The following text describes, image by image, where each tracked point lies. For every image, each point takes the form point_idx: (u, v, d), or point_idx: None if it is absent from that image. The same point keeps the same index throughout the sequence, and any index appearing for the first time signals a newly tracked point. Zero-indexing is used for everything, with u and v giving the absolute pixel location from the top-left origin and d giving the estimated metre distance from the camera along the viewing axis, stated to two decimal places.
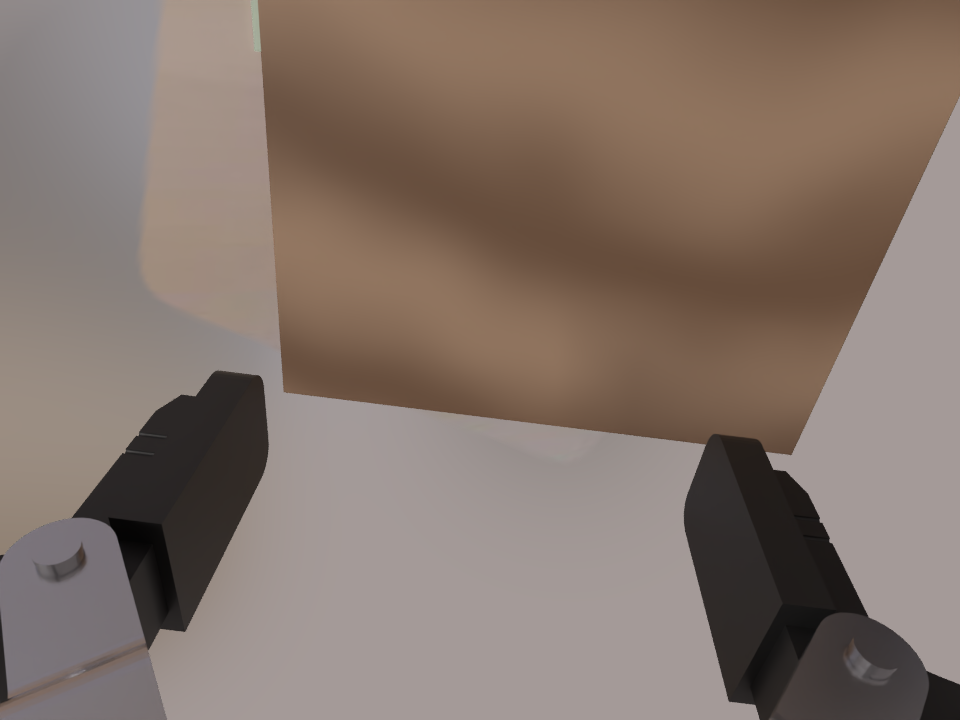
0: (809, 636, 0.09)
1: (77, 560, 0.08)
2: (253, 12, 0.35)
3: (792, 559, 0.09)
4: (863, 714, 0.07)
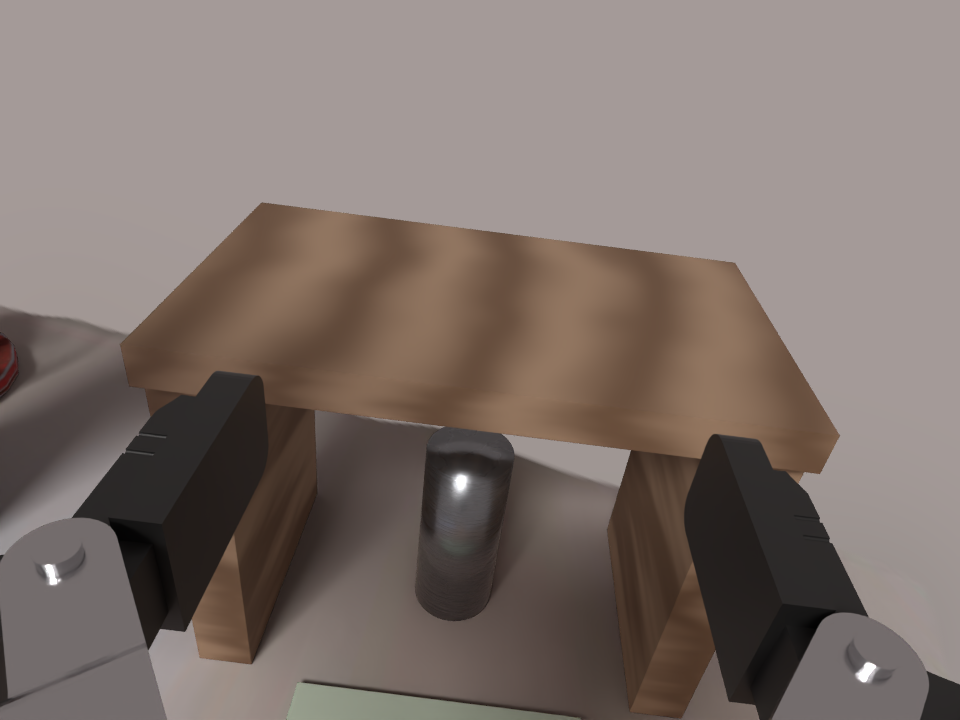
0: (809, 636, 0.09)
1: (77, 561, 0.08)
2: None
3: (792, 559, 0.09)
4: (863, 714, 0.07)
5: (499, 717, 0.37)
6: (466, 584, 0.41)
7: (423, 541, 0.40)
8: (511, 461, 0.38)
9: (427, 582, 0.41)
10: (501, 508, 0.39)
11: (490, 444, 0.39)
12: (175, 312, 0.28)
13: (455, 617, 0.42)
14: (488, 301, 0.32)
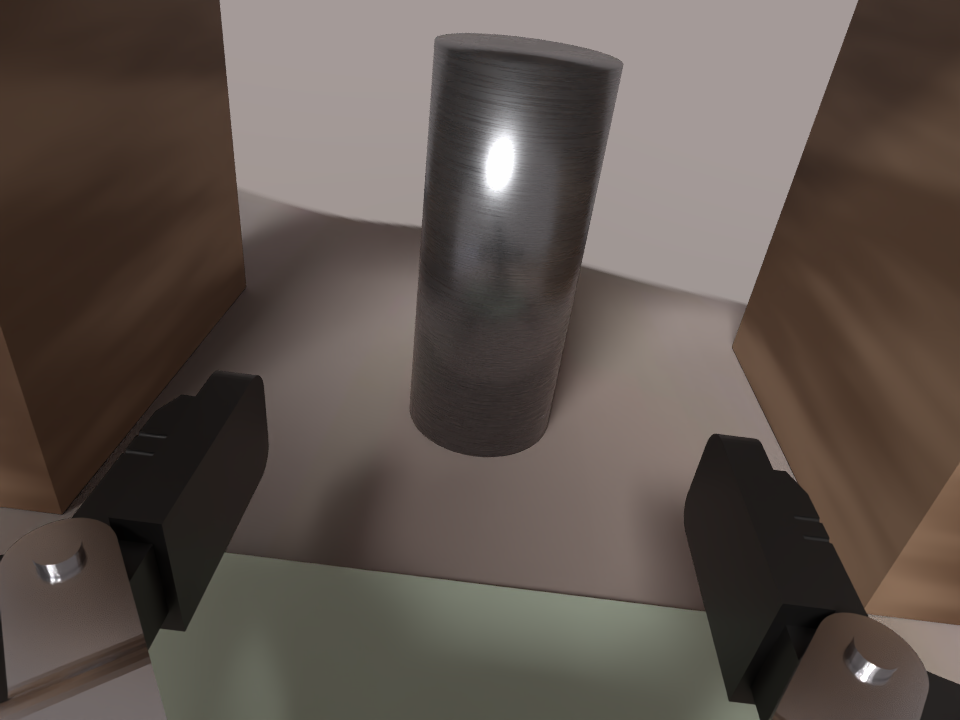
0: (809, 636, 0.09)
1: (77, 560, 0.08)
2: None
3: (792, 559, 0.09)
4: (863, 714, 0.07)
5: (595, 616, 0.17)
6: (512, 370, 0.20)
7: (425, 281, 0.20)
8: (619, 64, 0.17)
9: (433, 372, 0.21)
10: (591, 185, 0.18)
11: (568, 51, 0.18)
12: None
13: (485, 449, 0.22)
14: None
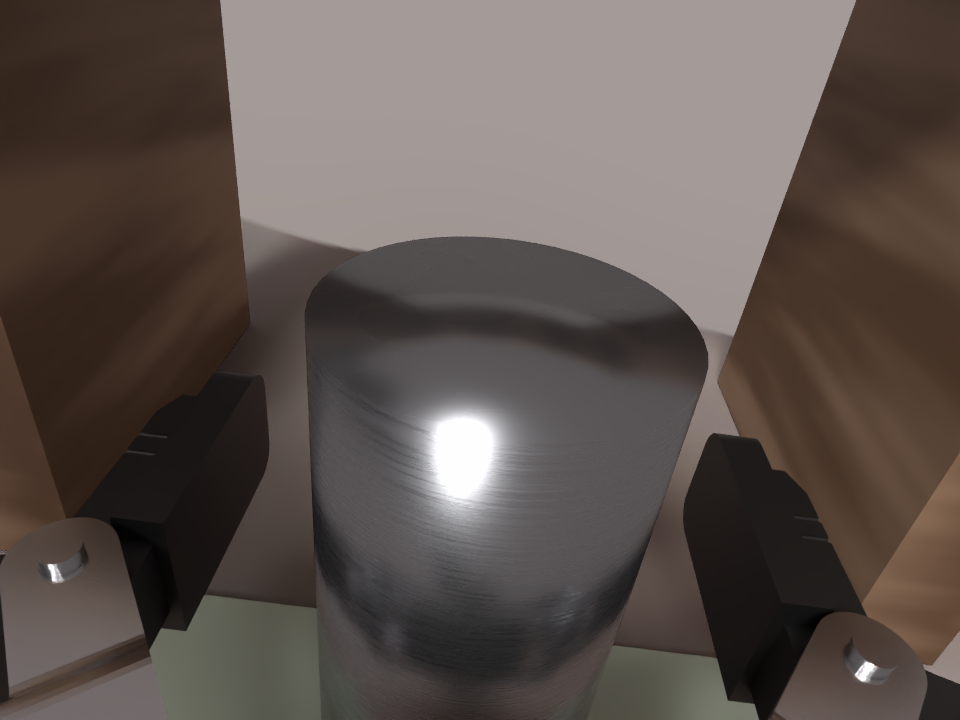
0: (808, 635, 0.09)
1: (78, 560, 0.08)
2: None
3: (791, 558, 0.09)
4: (862, 713, 0.07)
5: None
6: None
7: (324, 683, 0.11)
8: (700, 359, 0.08)
9: None
10: (636, 571, 0.09)
11: (589, 298, 0.09)
12: None
13: None
14: None
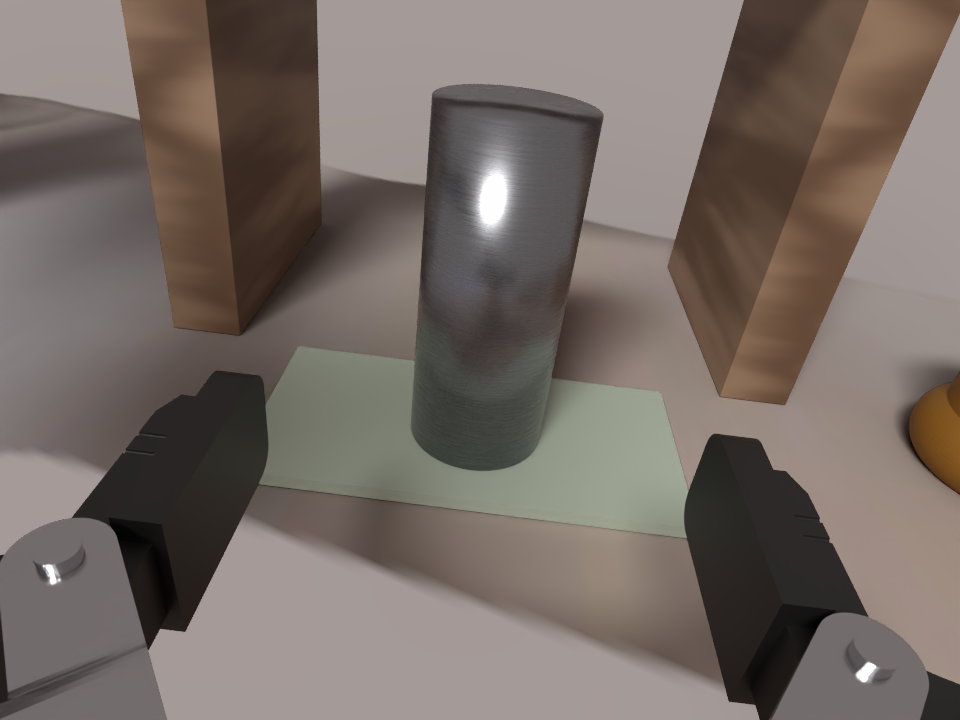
0: (809, 636, 0.09)
1: (77, 561, 0.08)
2: (643, 520, 0.23)
3: (792, 559, 0.09)
4: (863, 714, 0.07)
5: (558, 386, 0.29)
6: (505, 392, 0.22)
7: (424, 310, 0.22)
8: (599, 117, 0.19)
9: (432, 393, 0.23)
10: (575, 225, 0.20)
11: (554, 102, 0.20)
12: None
13: (481, 464, 0.24)
14: None
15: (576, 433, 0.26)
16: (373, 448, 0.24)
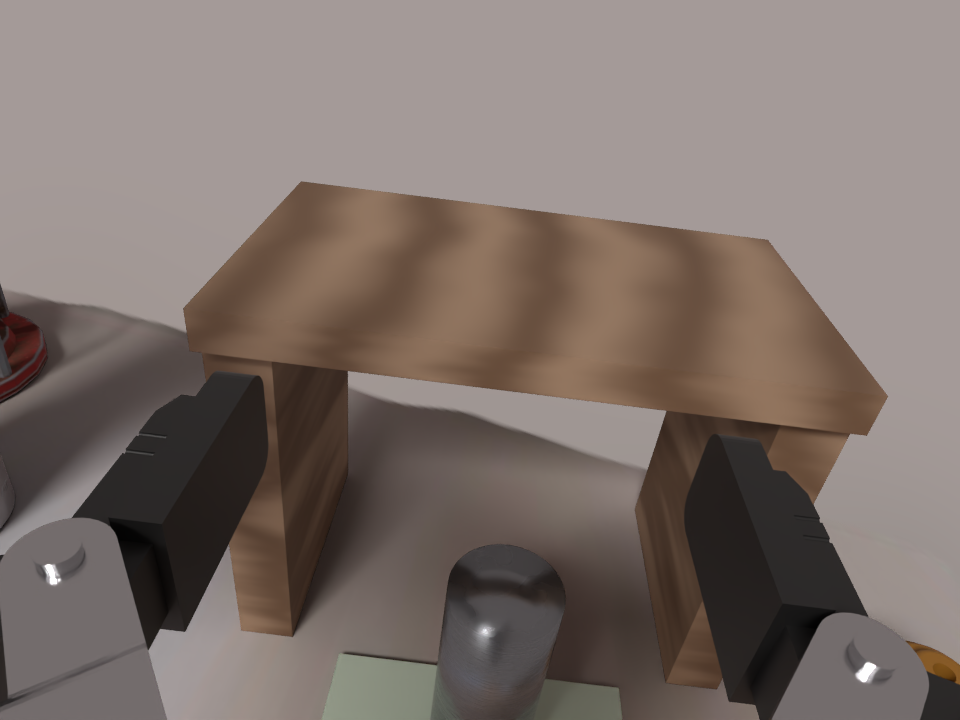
0: (809, 636, 0.09)
1: (77, 561, 0.08)
2: None
3: (792, 559, 0.09)
4: (863, 714, 0.07)
5: None
6: None
7: (440, 701, 0.31)
8: (562, 605, 0.28)
9: None
10: (547, 664, 0.29)
11: (532, 578, 0.29)
12: (232, 280, 0.29)
13: None
14: (533, 272, 0.33)
15: None
16: None
